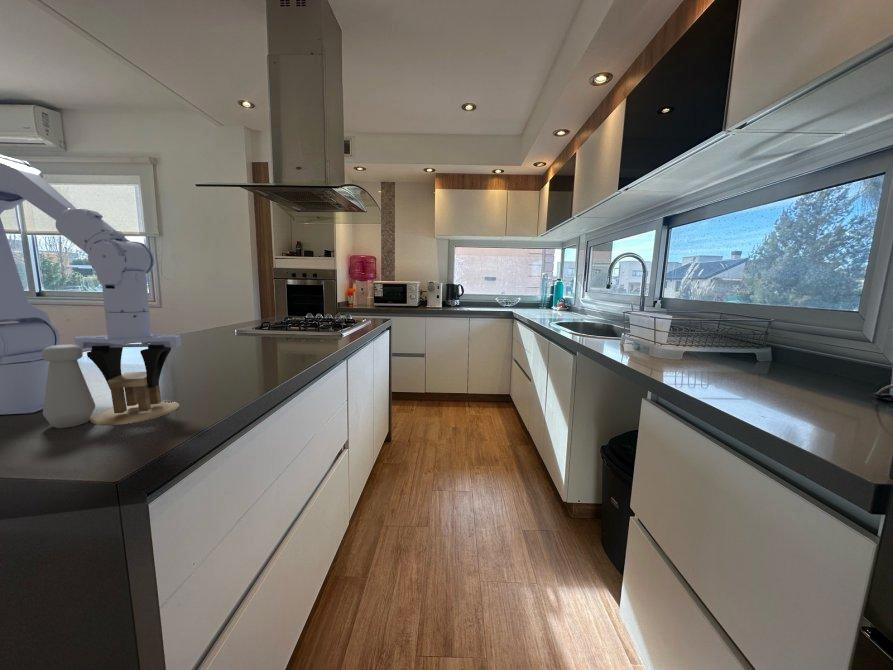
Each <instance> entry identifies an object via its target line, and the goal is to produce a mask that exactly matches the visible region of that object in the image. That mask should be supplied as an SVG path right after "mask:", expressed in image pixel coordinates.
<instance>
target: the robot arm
mask: <svg viewBox="0 0 893 670" xmlns="http://www.w3.org/2000/svg"><path fill="white" fill-rule="evenodd" d="M24 201H27V202H28V203H29V204H31V205H33V206H34V207H35V208H37V209H38V210H40V211H41V212H43V213H45V214H46V215H47V216H48V217H50V218H51V219H53V220H54V221H55V229H56V230H57V232H58V233H59V234H61V236H64V238H66V239H67V240H68V241H70V242H71V243H73V244H74V245H75V246H76V247H78V248H79V249H80V250H81V251H83V252H84V253H85V254H87V260H88V263H89V265H90V266H91V268H92V269H93V270H94V271H95V273H96V277H97V278H96V279H97V281H98V282H99V284H101V287H102V288H101V289H102V297H103V307H104V317H105V318H104V319H105V326H106V327H105V328H106V334H105V335H81V336H75V337H74V345H77V346H79V347H81V349H82V350H83V349H90V351H88V352H86V355H87V358H89V359H90V360H91V362H93V363H94V365H95V366H96V367H97V368H98V370H99V371H100V373H102V375H103V378H104V379H105V381H106V383H107V386H108V387H109V383H108V380H110V379H112V378H115V377H117V376H119V375H122V366H121V365H122V356H123V355H122V354H123V349H124V348H145V349H141V350H140V355H141V357H142V360H143V363H144V366H145V367H144V368H145V372H146V375H147V385H148V388H154V387H155V386H157V385H159V386H160V377H161V374H162V370H163V368H164V364H165V362H166V360H167V358H168V356H169V354H170V352H171V351H172V348H178V347H181V346H182V336H181V335H180V334H178V335H177V334H176V335H173V334H171V335H170V334H152V327H151V316H150V304H149V293H148V292H149V291H148V282H147V281H148V280H147V279H148V278H147V274H149V273H150V272H151V271H152V270H153V268H154V264H155V263H154V262H155V259H154V255H153V253H152V251H151V250H150V248H148V246H146V244H145V243H143V242H139V241H131V240H129V239H127V238H126V235H125V234H124V233H123V232H122V231H119V230H116V229H115V228H114V227H112V226H111V225H110V224H108V223H107V222H106V221H105V220H103V219H102V218H103V214H101V213H100V212H98V211H95V210H92V209H88V208H82V207H81V208H77V207H75V206H74V204H72V203H71V202H70V201H69V200H68V199H67V198H66V197H64V196H63V195H62V194H61V193H60V192H58V191H57V190H56V188H54V187H53V186H52V185H51V184H50V183H48V182H47V181H46V180H45V179H44V175H43V172H42V171H41V170H39V169H37V168H35V167H34V166H33V165H32V164H30V163H29V162H27V161H26V160H23V159H18V158H12V157H9V156H6V155H3V154H0V215H1V214H3V212H4V211H8V210H13V209H14V208H16V207H17V206H19V205H21V204H22V203H23V202H24ZM19 273H20V272H19V271H18V267H17V263H16V261H15V258H14V255H13V253H12V249H11V246H10V242H9V240H8V236H7V233H6V231H5V228H4V224H3V221H2V218H1V217H0V415H17V414H18V415H19V414H20V415H21V414H32V413H36V412H40V411H43V407H44V399H45V391H46V383H47V375H48V367H49V362H47V361H44V359H43V357H42V351H43V350H44V349H45V348H46V347H49V346H54V345H60V343H61V342H60V341H61V335H60V333H59V330H58V329H57V327H56V326H55V325H54V324H53V322H51V320H50V317H49V314H48V312H46V311H44V310H43V309H40V308H39V307H36V306H34V305H32V304H31V303H29V301H28V298H27V294H26V291H25V289H24V285H23V283H22V280H21V276H20V274H19ZM6 322H7V323H6ZM9 322H10V323H9ZM109 390H110V391H111V389H110V388H109Z"/></svg>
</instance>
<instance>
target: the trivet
mask: <svg viewBox="0 0 893 670" xmlns="http://www.w3.org/2000/svg"><path fill="white" fill-rule="evenodd" d="M164 401H165V400H163V401H161V402H160V403H159V404H151V409H150V410H148V411H140V412H139V406H138V404H137V405H135V406H127V403H126V407H127V411H125V412H123V413H115V414H114V408H113V407H110V408H107V409H104V410H101V411H99V412H96V413H95V414H92V415H91V416H90V419H89V422H90V423H91V422H92V424H95V425H98V424H99V426H116V425H118V426H119V425H126V424H127V425H128V423H129V424H135V423H140V421H141V422H145V420H146V421H150V420H154V419H158V418H161V417H163V415H164V416H166V414H167V415H169V414H171V413H173V412H175V411H177V410H178V409H179V408H178V407H180V404H179V403H178V402H176V401H174V402H172V403H171V402H170V403H168V402H166V403H165V402H164ZM177 408H178V409H177ZM176 409H177V410H176ZM168 413H169V414H168ZM160 416H161V417H160ZM157 417H158V418H157ZM149 419H150V420H149ZM134 422H135V423H134Z"/></svg>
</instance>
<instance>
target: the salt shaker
mask: <svg viewBox="0 0 893 670" xmlns="http://www.w3.org/2000/svg"><path fill="white" fill-rule="evenodd" d="M83 355H84V352H83V349H81V347H79V346H77V345H75V344H70V343H69V344H68V343H67V344H59V345H54V346H49V347H46V348H45V349H44V350H43V351H42V357H43V359H44V361H47V362H49V367H48V375H47V383H46V391H45V399H44V407H43V409H42V415H43V417H44V419H45V420H46V422H48V423H49V424H50V426H51V427H53V428H56V429H64V428H65V429H66V428H72V427H78V426H81V425H83V424H86V423H89V422H90V418H91V417H92V416H93V413H94V411H95V409H96V403H95V400H94V397H93V396H92V393H91V391H90V389H89V387H88V383H87V382H86V379H85V377H84V374H83V372H82V370H81V367H80V364H79V362H78V360H79V359H81V358H83Z"/></svg>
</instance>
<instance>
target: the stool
mask: <svg viewBox="0 0 893 670" xmlns="http://www.w3.org/2000/svg"><path fill="white" fill-rule="evenodd" d="M108 383H109V386H108V389H109V390H110V389H111V390H110V394H111V400H112V401H111V402H112V408H114V414H115V413H123V412H125V411H127V407H126V404H127V406H135V405H137V404H138V406H139V412H140V411H148V410H150V409H151V404H159V403H160V402H161V400H162V396H161V388H160V384H159V385H157V386H155V387H154V388H148V385H147V375H146V371H132V372H129V371H128V372H124V373H121V375H119V376H117V377H115V378H112V379H110V380H108Z"/></svg>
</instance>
